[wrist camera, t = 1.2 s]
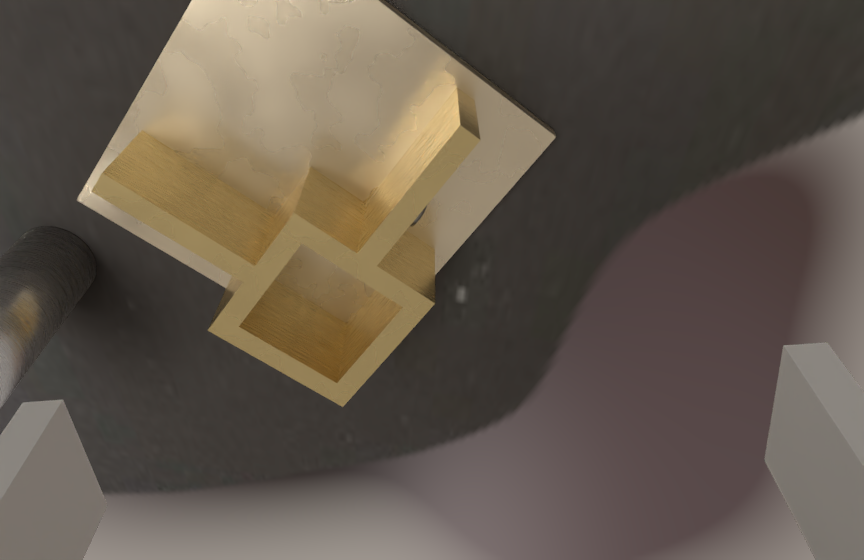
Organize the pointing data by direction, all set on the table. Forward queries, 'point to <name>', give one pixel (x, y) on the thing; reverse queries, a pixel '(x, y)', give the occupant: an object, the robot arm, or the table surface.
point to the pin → (38, 296)
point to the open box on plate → (313, 174)
